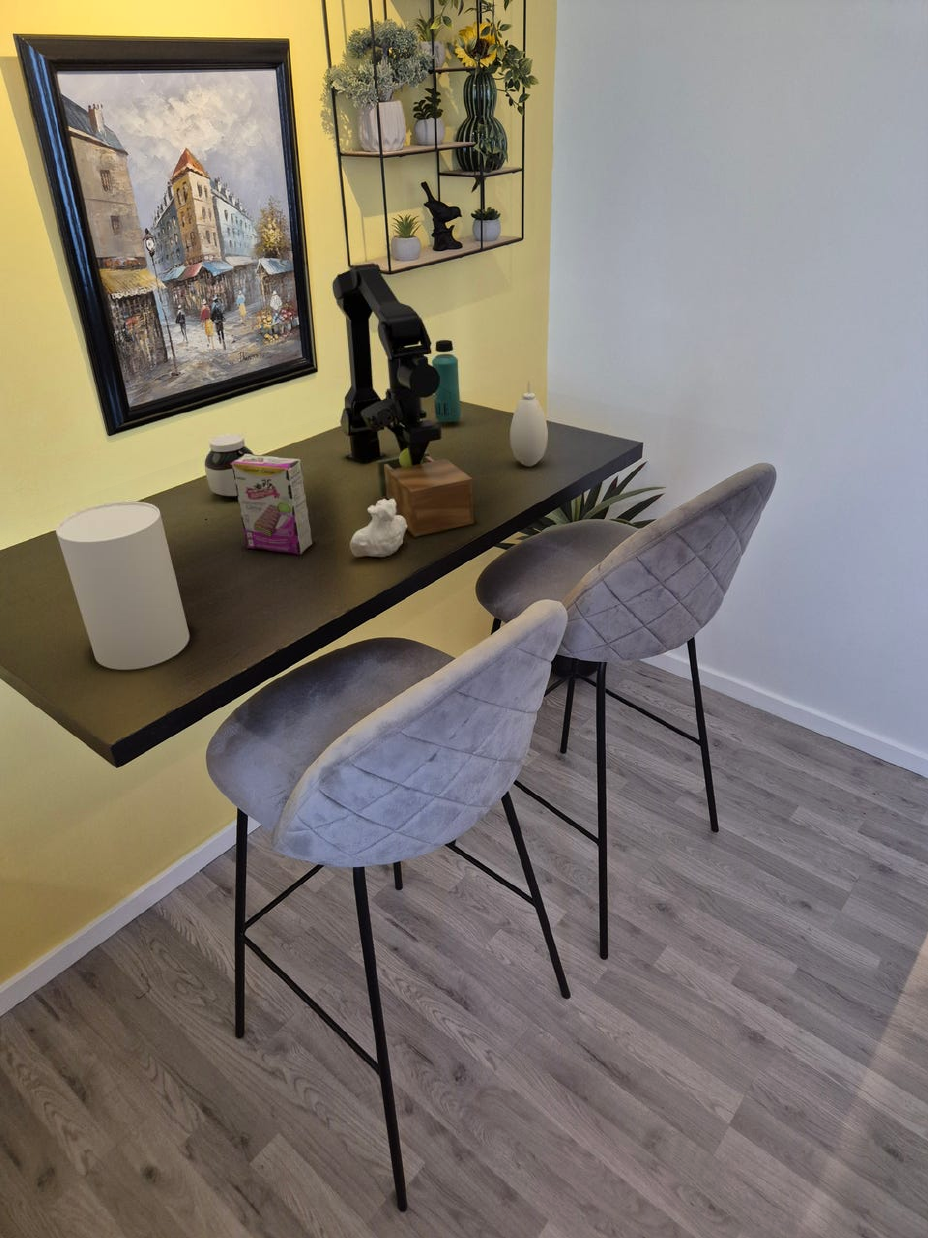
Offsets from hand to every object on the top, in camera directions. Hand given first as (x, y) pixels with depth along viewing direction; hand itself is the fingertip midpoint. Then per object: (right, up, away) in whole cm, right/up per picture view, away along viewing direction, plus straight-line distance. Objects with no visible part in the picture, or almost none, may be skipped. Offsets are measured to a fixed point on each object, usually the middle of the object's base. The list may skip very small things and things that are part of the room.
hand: (411, 464), depth 167 cm
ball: (0, +1, -1) cm, 1 cm away
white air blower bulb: (+24, +3, +19) cm, 31 cm away
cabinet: (+4, -11, -3) cm, 12 cm away
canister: (-38, -34, -38) cm, 63 cm away
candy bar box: (-23, -17, -11) cm, 31 cm away
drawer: (0, -6, +4) cm, 7 cm away
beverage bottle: (+6, +18, +46) cm, 49 cm away
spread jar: (-37, -3, +13) cm, 40 cm away
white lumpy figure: (-4, -18, -15) cm, 24 cm away
